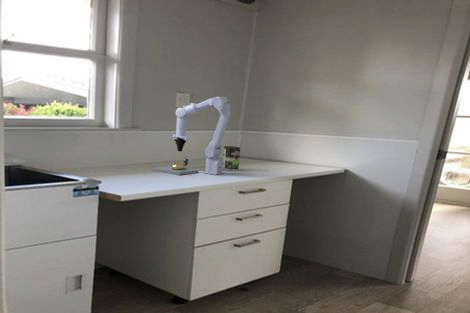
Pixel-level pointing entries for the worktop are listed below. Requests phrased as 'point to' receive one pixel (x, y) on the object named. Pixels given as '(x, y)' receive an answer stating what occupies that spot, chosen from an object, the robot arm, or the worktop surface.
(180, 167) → the spiked mace toy
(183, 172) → the grey board
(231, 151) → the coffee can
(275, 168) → the worktop surface
